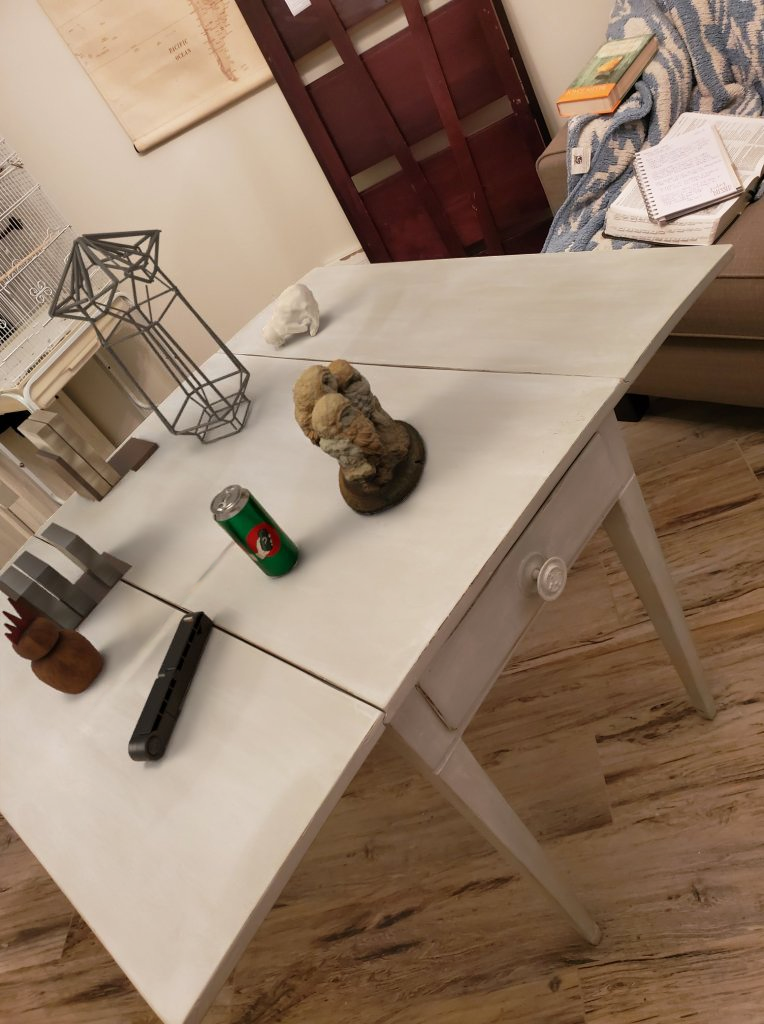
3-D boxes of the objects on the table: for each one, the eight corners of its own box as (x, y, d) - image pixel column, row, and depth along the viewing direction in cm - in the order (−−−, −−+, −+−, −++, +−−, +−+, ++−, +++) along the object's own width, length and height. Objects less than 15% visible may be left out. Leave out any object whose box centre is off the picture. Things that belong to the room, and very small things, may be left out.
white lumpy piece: (300, 288, 120) (244, 325, 124) (330, 326, 125) (275, 361, 129) (301, 272, 125) (247, 309, 129) (329, 310, 130) (277, 344, 134)
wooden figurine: (103, 648, 94) (14, 580, 85) (119, 666, 90) (27, 597, 80) (63, 689, 92) (-32, 625, 83) (78, 710, 88) (-21, 644, 78)
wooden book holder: (103, 505, 121) (32, 438, 112) (81, 496, 128) (11, 432, 118) (159, 446, 126) (95, 377, 117) (134, 440, 133) (72, 374, 123)
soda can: (307, 544, 88) (251, 478, 81) (293, 578, 85) (233, 513, 78) (274, 548, 91) (218, 484, 83) (260, 581, 88) (199, 518, 80)
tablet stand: (159, 765, 75) (140, 753, 73) (141, 766, 76) (122, 753, 74) (215, 621, 87) (200, 607, 85) (199, 623, 88) (184, 609, 86)
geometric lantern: (177, 466, 118) (12, 288, 97) (205, 405, 129) (62, 233, 107) (254, 440, 112) (96, 243, 90) (277, 379, 122) (140, 189, 101)
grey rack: (71, 643, 98) (15, 602, 92) (45, 623, 105) (-9, 583, 99) (137, 569, 103) (87, 525, 97) (108, 555, 109) (60, 512, 103)
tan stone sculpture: (436, 496, 83) (366, 384, 72) (346, 537, 85) (267, 434, 75) (416, 410, 96) (355, 306, 86) (339, 447, 99) (271, 350, 89)
